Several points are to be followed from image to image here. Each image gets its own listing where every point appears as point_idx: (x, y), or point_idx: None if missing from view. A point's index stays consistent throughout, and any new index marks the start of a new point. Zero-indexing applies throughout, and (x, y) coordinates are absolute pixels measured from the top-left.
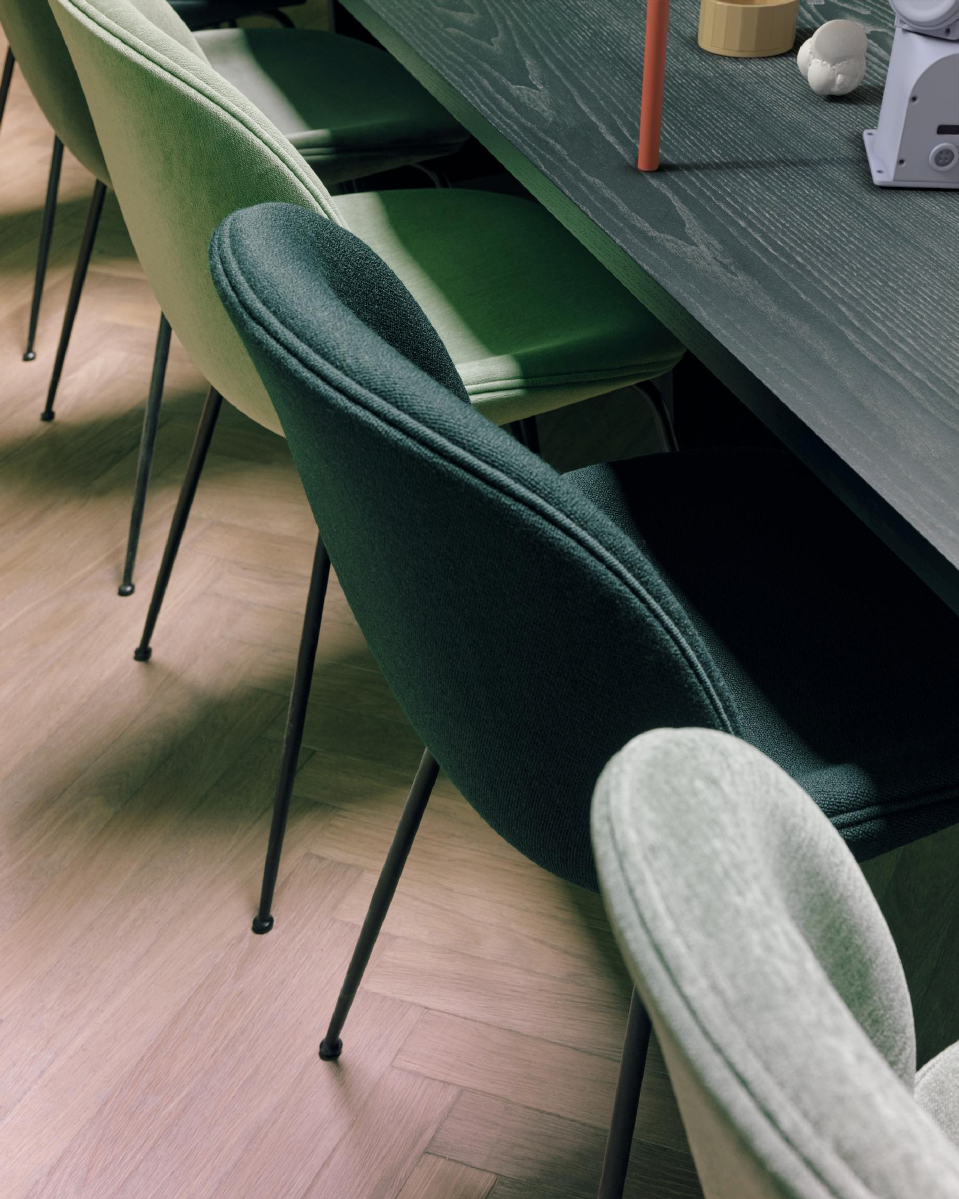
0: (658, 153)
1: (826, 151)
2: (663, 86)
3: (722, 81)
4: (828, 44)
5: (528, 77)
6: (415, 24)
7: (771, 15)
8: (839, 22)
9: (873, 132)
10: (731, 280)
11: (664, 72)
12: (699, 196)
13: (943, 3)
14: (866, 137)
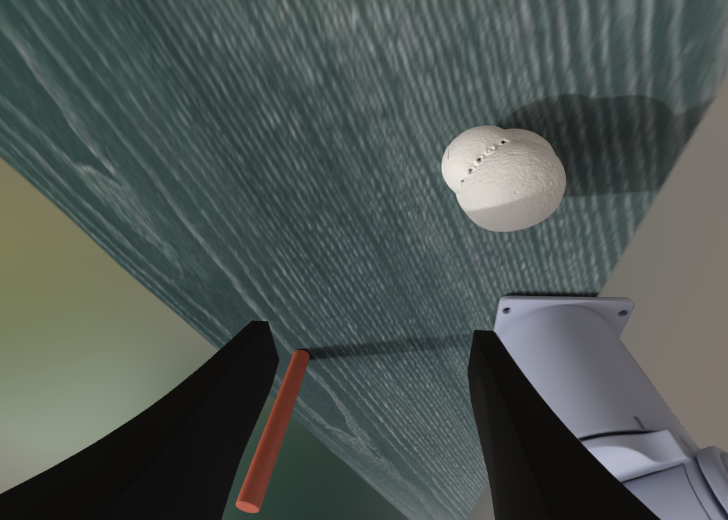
0: (306, 367)
1: (455, 323)
2: (289, 418)
3: (332, 110)
4: (485, 228)
5: (71, 128)
6: None
7: None
8: (514, 209)
9: (510, 307)
10: (378, 461)
11: (285, 430)
12: (349, 391)
13: None
14: (499, 318)
